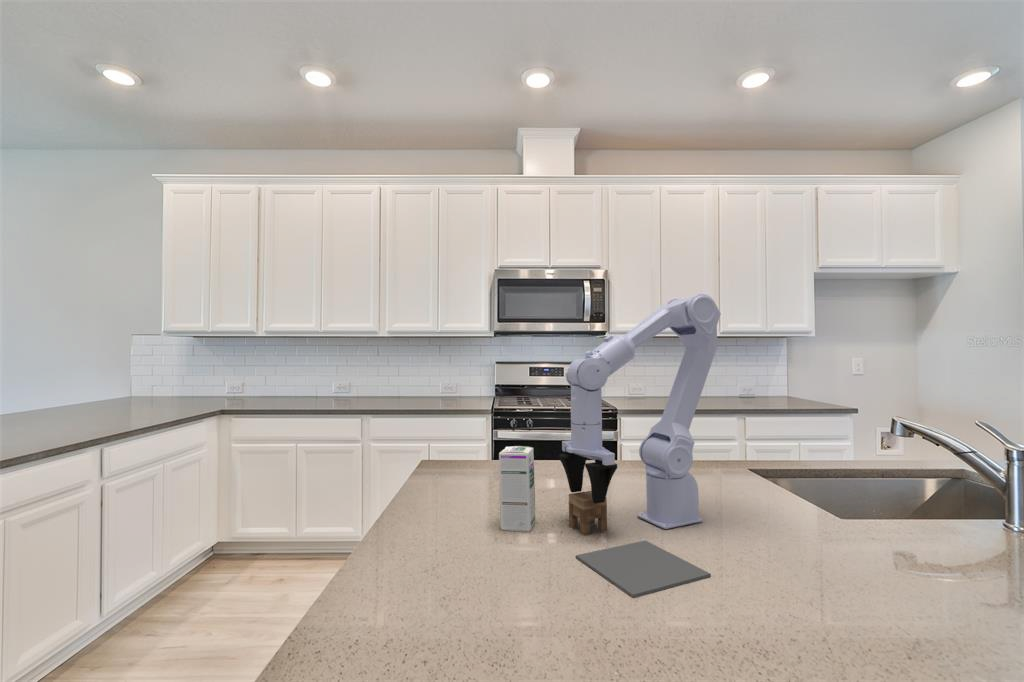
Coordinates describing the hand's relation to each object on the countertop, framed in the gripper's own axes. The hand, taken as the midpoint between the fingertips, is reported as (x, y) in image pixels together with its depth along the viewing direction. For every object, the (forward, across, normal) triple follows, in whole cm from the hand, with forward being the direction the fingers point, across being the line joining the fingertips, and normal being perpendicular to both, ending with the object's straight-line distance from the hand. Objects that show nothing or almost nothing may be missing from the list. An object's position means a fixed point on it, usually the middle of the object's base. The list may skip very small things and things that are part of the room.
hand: (587, 496), depth 89 cm
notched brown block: (+6, 0, 0) cm, 6 cm away
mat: (+6, +17, -2) cm, 18 cm away
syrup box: (+6, -7, -11) cm, 14 cm away
